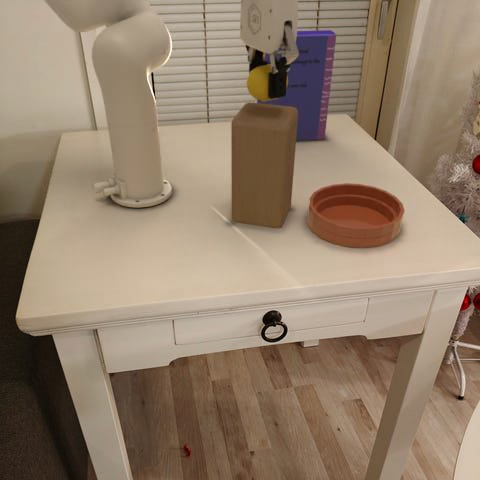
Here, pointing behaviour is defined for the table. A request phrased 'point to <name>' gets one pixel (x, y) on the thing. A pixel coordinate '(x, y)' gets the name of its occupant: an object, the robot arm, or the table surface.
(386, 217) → the fruit bowl
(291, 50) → the robot arm
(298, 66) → the purple book
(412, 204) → the table surface
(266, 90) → the lemon
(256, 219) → the wooden block
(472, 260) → the table surface
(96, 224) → the table surface
